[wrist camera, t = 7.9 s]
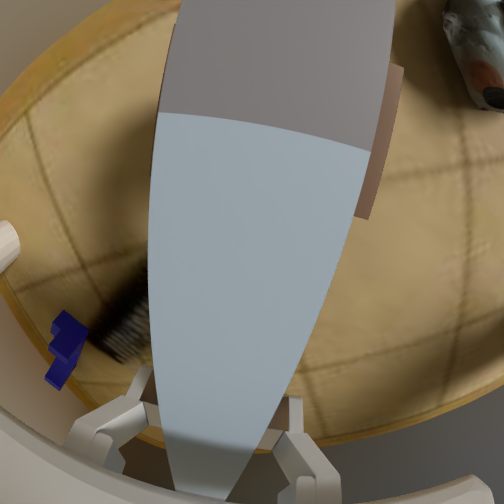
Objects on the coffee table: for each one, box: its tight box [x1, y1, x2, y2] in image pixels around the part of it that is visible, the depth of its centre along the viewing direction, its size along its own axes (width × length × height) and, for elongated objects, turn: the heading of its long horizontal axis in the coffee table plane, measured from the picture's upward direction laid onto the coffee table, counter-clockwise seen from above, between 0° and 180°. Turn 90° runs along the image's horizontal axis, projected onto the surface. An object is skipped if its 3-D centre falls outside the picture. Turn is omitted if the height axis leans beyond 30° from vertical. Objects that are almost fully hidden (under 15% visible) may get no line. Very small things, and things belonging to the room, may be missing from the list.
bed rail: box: [148, 0, 396, 501], centre depth 9 cm, size 3×24×4 cm, turn 170°
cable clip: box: [45, 310, 89, 391], centre depth 31 cm, size 12×4×6 cm, turn 143°
